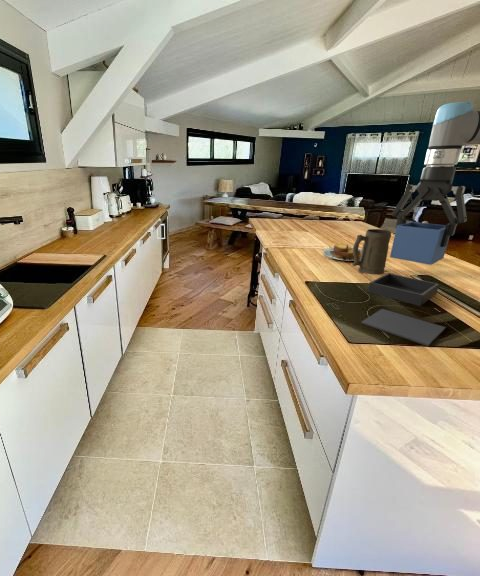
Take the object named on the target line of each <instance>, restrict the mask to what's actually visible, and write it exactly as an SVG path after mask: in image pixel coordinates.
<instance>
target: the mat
mask: <svg viewBox="0 0 480 576" xmlns="http://www.w3.org/2000/svg"><path fill="white" fill-rule="evenodd" d="M360 324H361V325H363V326H367V327H370V328H373V329H375V330H380V331H382V332H385V333H387V334H390V335H393V336H396V337H399V338H402V339H405V340H407V341H411V342H413V343H417V344H419V345H423V346H426V347H429V346H430V345H431V344H432V343H433V342H434V341H435V340H436V339H437V338H438V337H439V336H440V335H441V334H442V333H443V332H444V331H445V330H446V329H447V328H448V327H447V326H444V325H441V324H439V323H438V324H437V323H434V322H432V321H427V320H424V319H420V318H418V317H414V316H410V315H407V314H403V313H401V312H397V311H393V310H390V309H386V308H383V307H382V308H381V309H379V310H377V311H375V313H373V314H371V315H370V316H368V317H367V318H365V319H363V320H362V321H361V322H360Z"/></svg>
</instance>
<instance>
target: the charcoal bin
mask: <svg viewBox="0 0 480 576" xmlns="http://www.w3.org/2000/svg"><path fill="white" fill-rule="evenodd" d="M439 286H440V283H437V282H431V281H427V280H422V279H418V278H415V277H409V276H405V275H400V274H396V273H390V272H387V273H386V274H384V275H382V276H380V277H378V278H376V279H374V280H372V281H370V282H369V284H368V289H367V293H369V294H372V295H373V294H374V295H377V296H381V297H385V298H389V299H393V300H396V301H399V302H402V303H403V302H404V303H407V304H411V305H414V306H418V307H421V306H423V305H424V304H426V302H428V301H429V300H430V299H432V298H433V297H435V296H436V295H437V293H438V290H439Z"/></svg>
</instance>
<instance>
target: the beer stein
mask: <svg viewBox="0 0 480 576" xmlns="http://www.w3.org/2000/svg"><path fill="white" fill-rule="evenodd" d="M391 237H392V231H391V230H388V229H382V228H371V229H367V230H366V232H365V235H362V234H357V235H356V239H355V242H354V244H353V246H352V247H353V255H354V259H355V261H353V263H352V266H353V267H356V266H359V267H358V269H357V271H358V272H359V274H367V275H368V274H369V275H383V274H385V268H386V263H387V258H388V253H389V248H390V247H389V245H390V241H391ZM362 241H364V242H363V244H362V248H361V249H362V253H361V257H360V260H359V258H358V248H360V243H361V242H362Z"/></svg>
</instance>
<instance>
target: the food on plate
mask: <svg viewBox="0 0 480 576" xmlns="http://www.w3.org/2000/svg"><path fill="white" fill-rule="evenodd" d="M361 253H362V248H361V247H358V258H359V261H360V257H361ZM322 254H323V255H324V256H325V257H327V258H329V259H334V260H339V261H345V262H346V261H347V262H351V261H353V262H354V261H355V259H354V255H353V246H349V245H348V244H346V243H336V244H334V246H333V247H329V248H325V249H323V250H322ZM330 256H332V257H330Z"/></svg>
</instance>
